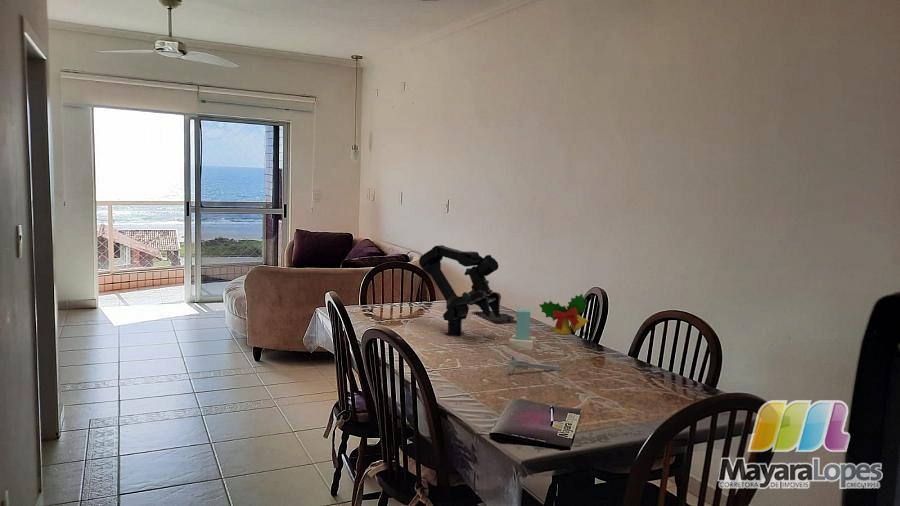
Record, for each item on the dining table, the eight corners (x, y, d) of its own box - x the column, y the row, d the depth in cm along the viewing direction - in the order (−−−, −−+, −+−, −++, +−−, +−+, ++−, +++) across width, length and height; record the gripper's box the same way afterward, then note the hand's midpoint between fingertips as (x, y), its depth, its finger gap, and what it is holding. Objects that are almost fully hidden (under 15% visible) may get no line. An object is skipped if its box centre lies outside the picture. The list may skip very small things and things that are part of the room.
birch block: (513, 343, 253) (513, 334, 253) (535, 345, 251) (535, 336, 250) (508, 348, 245) (509, 340, 244) (531, 351, 242) (532, 342, 242)
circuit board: (471, 313, 306) (471, 307, 306) (497, 312, 312) (497, 306, 312) (496, 325, 283) (496, 318, 283) (523, 323, 289) (524, 316, 289)
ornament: (545, 342, 274) (532, 310, 270) (549, 332, 281) (537, 302, 278) (592, 333, 264) (580, 300, 260) (596, 324, 271) (584, 291, 267)
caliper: (509, 375, 210) (509, 357, 209) (507, 374, 211) (508, 356, 210) (563, 370, 217) (564, 352, 217) (561, 369, 218) (562, 351, 218)
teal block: (516, 336, 250) (517, 309, 249) (528, 337, 249) (529, 309, 248) (516, 339, 245) (517, 311, 244) (529, 340, 244) (530, 312, 243)
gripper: (471, 290, 262) (485, 325, 258) (451, 287, 246) (465, 325, 241) (494, 279, 258) (508, 314, 254) (475, 276, 242) (490, 313, 237)
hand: (493, 317), depth 247 cm, fingers open, 9 cm apart
